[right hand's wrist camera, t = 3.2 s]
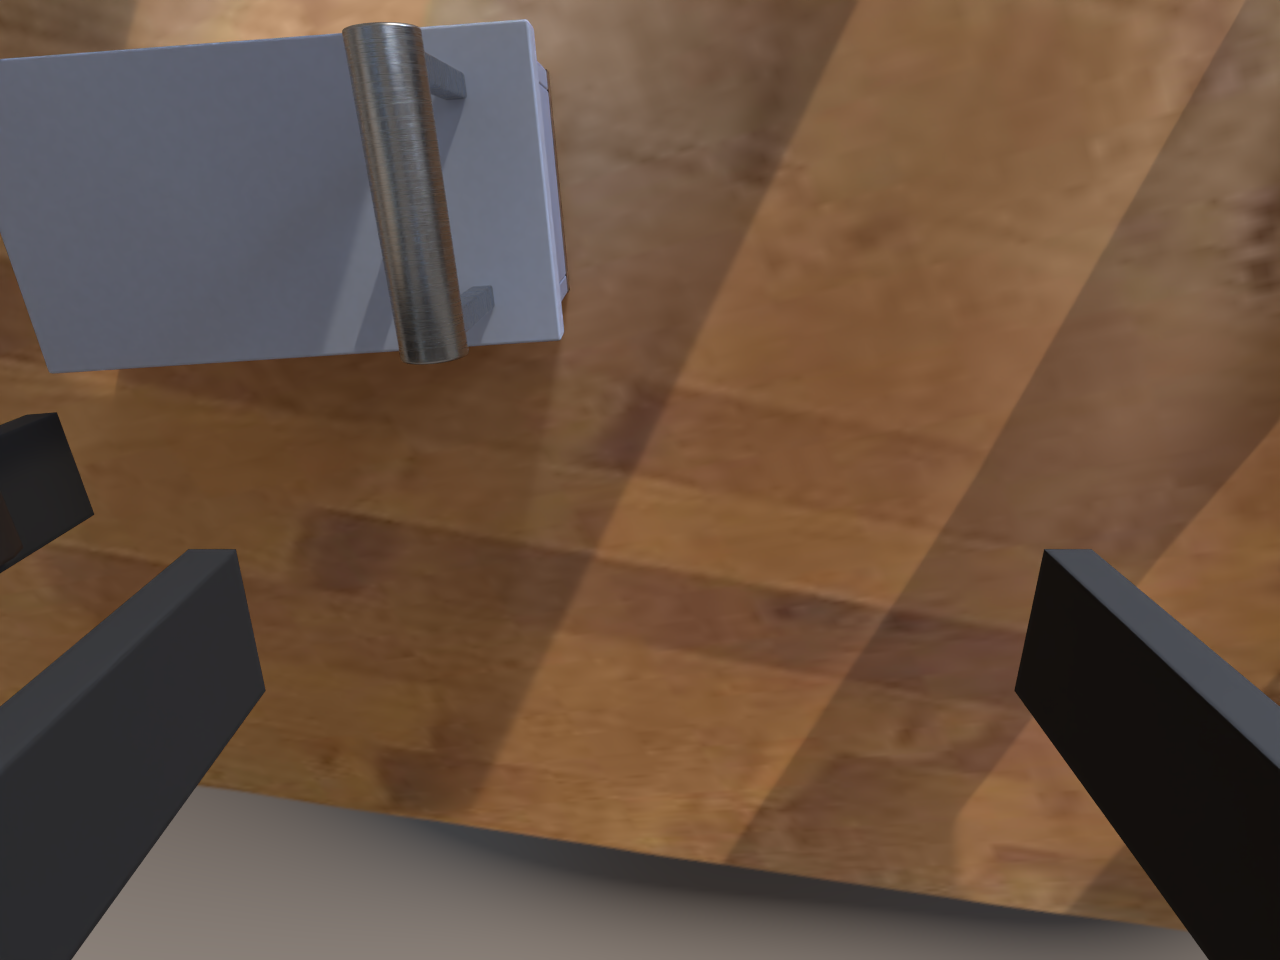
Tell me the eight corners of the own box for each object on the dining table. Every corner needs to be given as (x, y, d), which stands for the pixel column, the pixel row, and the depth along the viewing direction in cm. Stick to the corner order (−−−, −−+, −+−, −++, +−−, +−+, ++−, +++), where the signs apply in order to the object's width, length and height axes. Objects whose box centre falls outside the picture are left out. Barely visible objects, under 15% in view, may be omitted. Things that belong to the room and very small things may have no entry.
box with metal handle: (533, 25, 24) (477, -51, 15) (564, 333, 27) (531, 403, 19) (-27, 68, 24) (-368, 15, 16) (73, 365, 27) (-166, 447, 19)
